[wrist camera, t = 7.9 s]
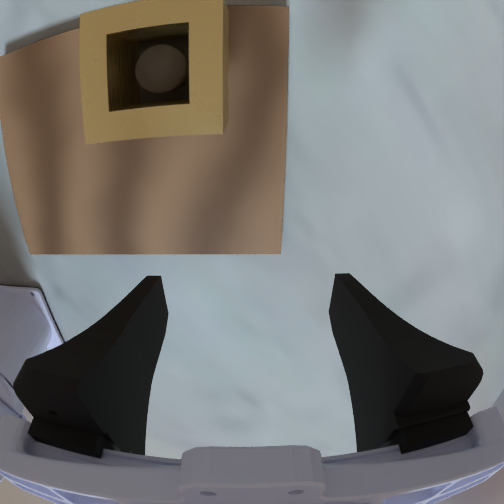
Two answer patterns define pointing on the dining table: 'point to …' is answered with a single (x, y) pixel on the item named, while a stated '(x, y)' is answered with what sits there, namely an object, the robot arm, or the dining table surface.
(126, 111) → the brass collar
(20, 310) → the robot arm
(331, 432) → the dining table surface
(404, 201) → the dining table surface
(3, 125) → the peg board
